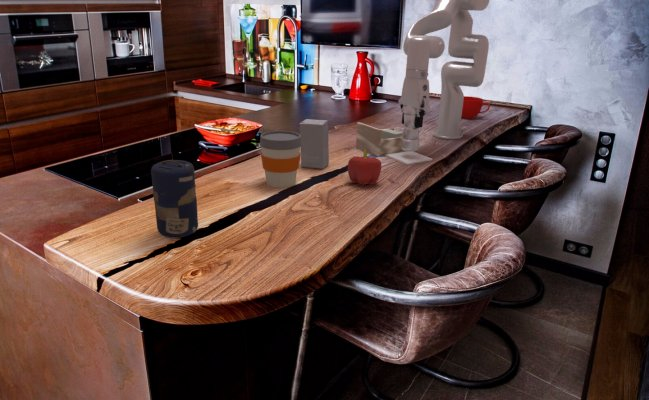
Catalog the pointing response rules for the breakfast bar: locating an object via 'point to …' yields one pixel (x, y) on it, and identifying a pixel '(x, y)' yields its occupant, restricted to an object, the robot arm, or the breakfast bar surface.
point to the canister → (175, 198)
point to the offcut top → (391, 134)
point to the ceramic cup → (472, 107)
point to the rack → (376, 141)
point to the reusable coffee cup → (280, 157)
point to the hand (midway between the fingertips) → (411, 125)
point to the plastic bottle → (410, 130)
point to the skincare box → (314, 143)
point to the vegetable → (364, 169)
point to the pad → (408, 157)
